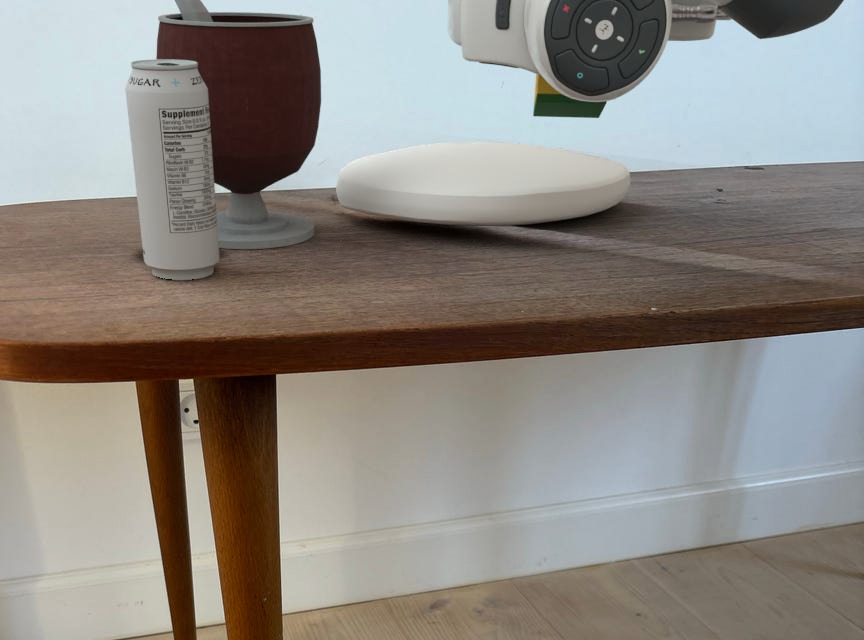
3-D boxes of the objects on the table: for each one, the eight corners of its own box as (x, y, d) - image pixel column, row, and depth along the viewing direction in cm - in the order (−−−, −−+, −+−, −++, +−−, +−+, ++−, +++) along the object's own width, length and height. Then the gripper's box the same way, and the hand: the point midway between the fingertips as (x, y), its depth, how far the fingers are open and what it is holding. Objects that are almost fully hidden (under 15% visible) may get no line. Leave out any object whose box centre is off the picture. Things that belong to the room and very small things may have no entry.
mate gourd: (352, 229, 99) (352, -23, 87) (257, 260, 89) (243, -19, 78) (227, 206, 106) (212, -29, 94) (126, 232, 96) (96, -27, 85)
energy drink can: (192, 258, 89) (175, 56, 81) (235, 273, 85) (222, 63, 77) (131, 270, 86) (106, 61, 77) (172, 286, 82) (151, 68, 74)
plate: (285, 171, 96) (402, 133, 117) (293, 245, 100) (406, 196, 120) (584, 164, 85) (657, 123, 106) (582, 248, 89) (653, 193, 109)
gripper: (748, -40, 71) (714, -44, 82) (444, -44, 72) (453, -47, 84) (730, 66, 74) (700, 48, 86) (441, 60, 76) (449, 43, 87)
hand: (576, 1), depth 85 cm, fingers closed on dish wand, 3 cm apart
